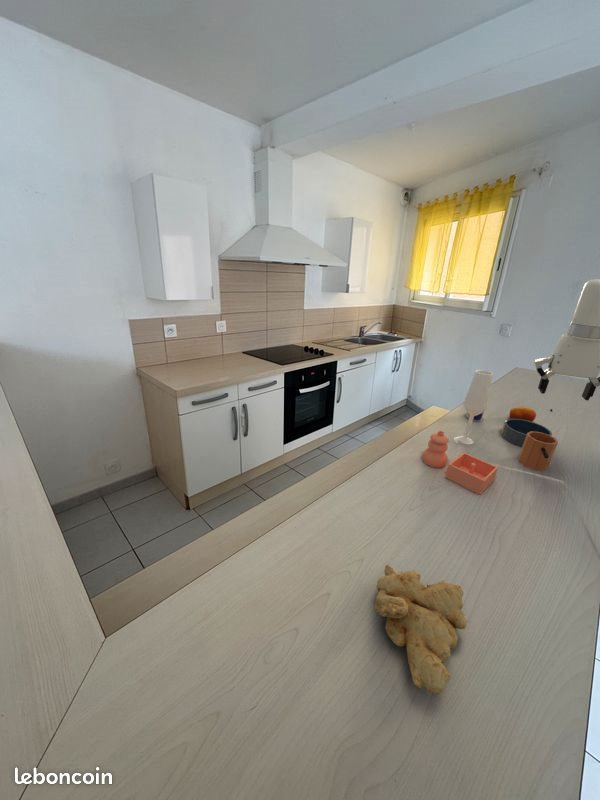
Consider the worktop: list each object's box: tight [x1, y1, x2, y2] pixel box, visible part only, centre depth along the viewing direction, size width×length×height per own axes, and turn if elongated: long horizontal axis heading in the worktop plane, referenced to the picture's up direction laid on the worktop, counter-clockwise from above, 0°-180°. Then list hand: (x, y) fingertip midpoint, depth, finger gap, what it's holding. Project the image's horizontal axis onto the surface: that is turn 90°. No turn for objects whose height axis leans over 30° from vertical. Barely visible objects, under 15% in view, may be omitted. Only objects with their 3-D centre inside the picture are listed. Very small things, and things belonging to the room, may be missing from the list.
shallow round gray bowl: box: [500, 418, 553, 448], centre depth 107 cm, size 13×13×5 cm
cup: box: [517, 431, 559, 472], centre depth 91 cm, size 7×12×9 cm, turn 155°
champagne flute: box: [453, 369, 494, 445], centre depth 101 cm, size 7×7×24 cm
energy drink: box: [465, 411, 485, 423], centre depth 119 cm, size 5×5×12 cm
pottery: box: [422, 430, 499, 495], centre depth 88 cm, size 18×10×10 cm, turn 42°
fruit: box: [508, 405, 537, 422], centre depth 119 cm, size 8×8×8 cm
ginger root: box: [374, 564, 467, 695], centre depth 49 cm, size 16×16×8 cm
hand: (562, 395), depth 87 cm, fingers open, 9 cm apart
